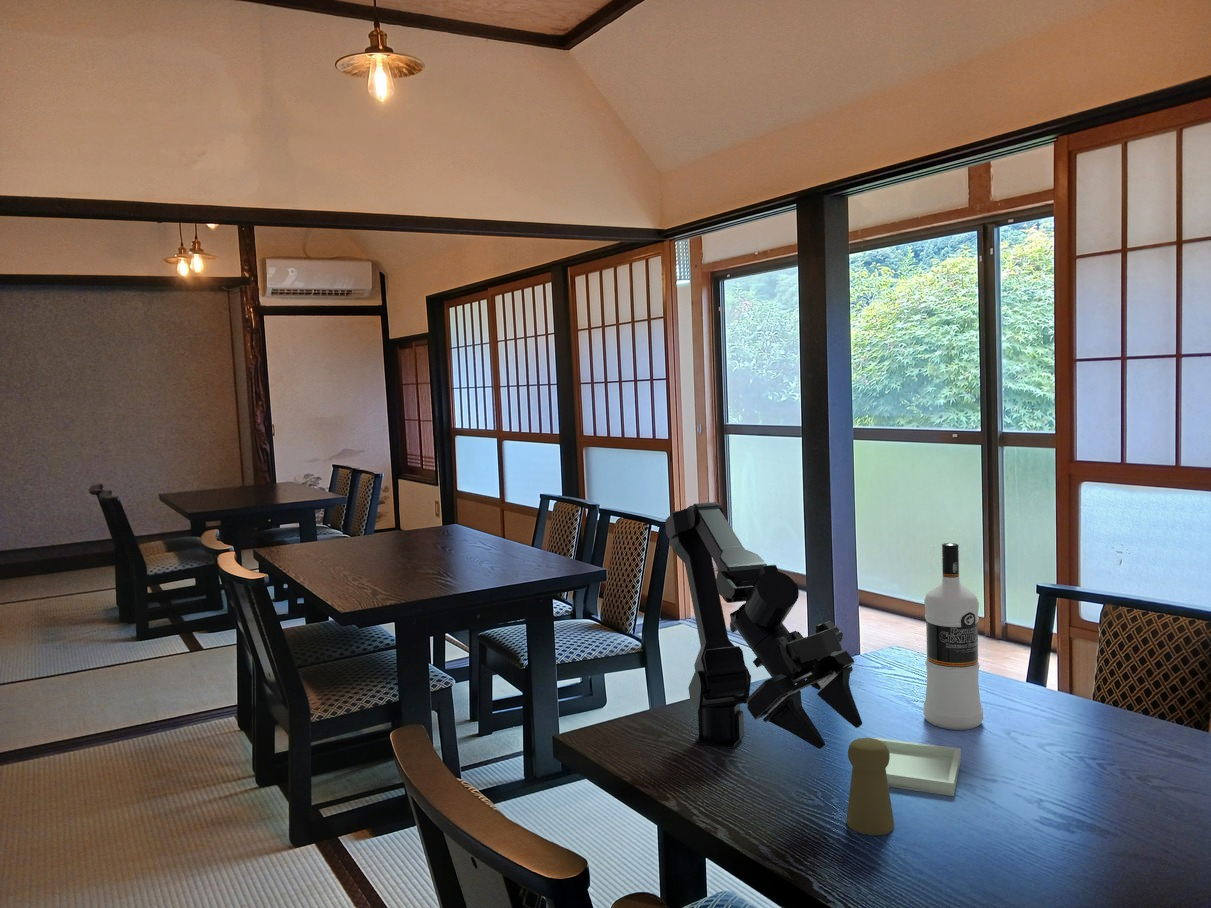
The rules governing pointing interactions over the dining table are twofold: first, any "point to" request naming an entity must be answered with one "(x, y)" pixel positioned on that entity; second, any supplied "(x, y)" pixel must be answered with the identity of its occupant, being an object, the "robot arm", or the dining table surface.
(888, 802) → the cork
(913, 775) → the tray
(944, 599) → the vodka
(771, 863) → the dining table surface
